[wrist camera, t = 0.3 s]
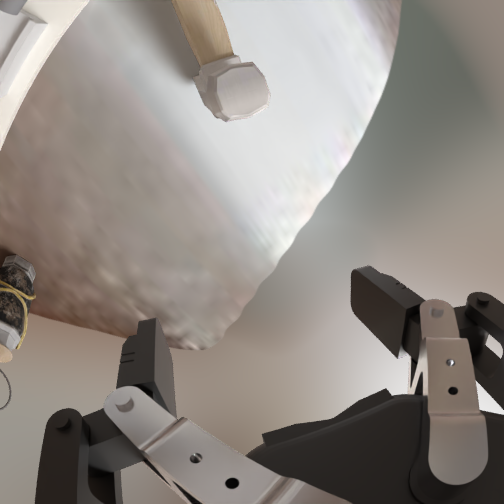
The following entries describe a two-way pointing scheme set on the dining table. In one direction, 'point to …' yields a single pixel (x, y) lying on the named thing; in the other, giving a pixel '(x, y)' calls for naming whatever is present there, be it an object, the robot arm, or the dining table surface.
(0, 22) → the shaft rig
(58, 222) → the dining table surface
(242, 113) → the hammer
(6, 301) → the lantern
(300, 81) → the dining table surface
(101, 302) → the dining table surface
